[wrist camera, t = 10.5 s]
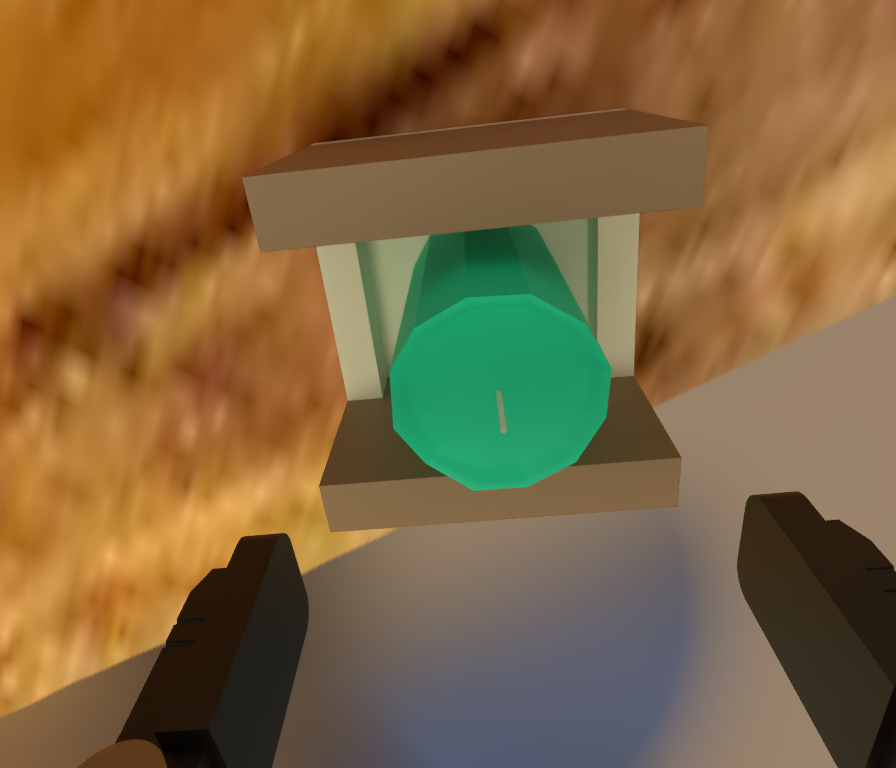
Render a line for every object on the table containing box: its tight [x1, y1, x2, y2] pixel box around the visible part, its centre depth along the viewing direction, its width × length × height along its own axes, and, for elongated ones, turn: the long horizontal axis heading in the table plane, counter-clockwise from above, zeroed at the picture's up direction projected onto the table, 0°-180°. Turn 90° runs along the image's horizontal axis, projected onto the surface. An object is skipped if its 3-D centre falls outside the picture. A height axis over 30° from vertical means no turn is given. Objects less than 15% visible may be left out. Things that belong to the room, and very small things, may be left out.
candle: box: [389, 225, 612, 491], centre depth 20 cm, size 6×6×12 cm
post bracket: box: [242, 108, 709, 532], centre depth 22 cm, size 12×12×9 cm
